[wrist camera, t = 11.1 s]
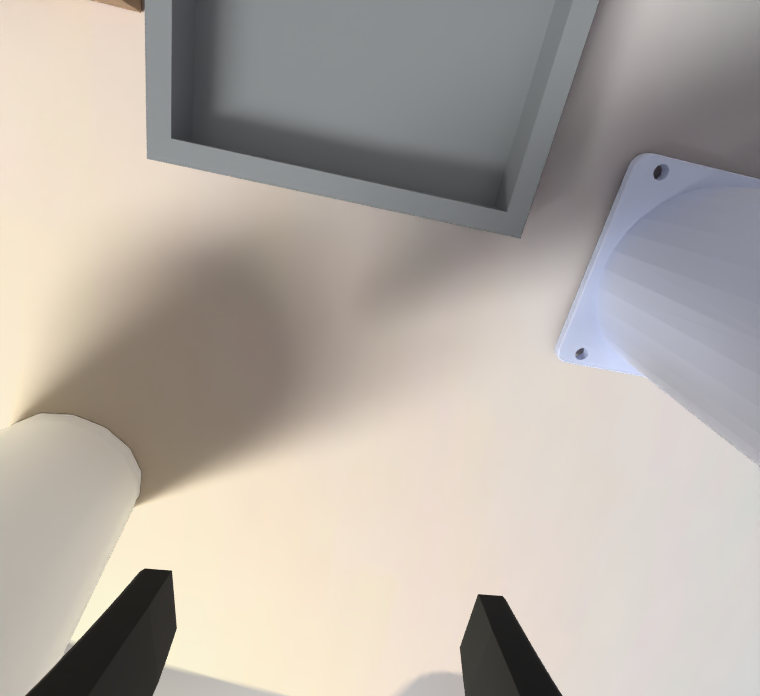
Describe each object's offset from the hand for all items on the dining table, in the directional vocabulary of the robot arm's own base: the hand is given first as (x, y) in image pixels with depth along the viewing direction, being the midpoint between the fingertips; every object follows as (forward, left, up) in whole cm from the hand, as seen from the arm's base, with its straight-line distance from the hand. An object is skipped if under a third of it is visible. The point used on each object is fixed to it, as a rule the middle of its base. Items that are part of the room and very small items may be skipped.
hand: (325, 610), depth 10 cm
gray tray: (+2, -13, -9) cm, 16 cm away
